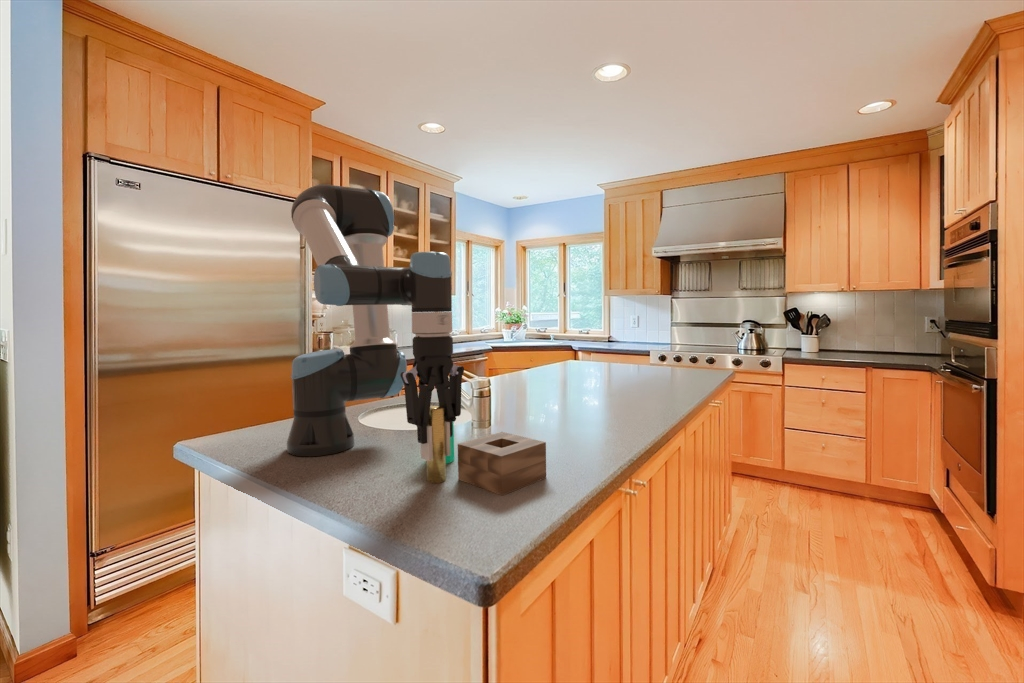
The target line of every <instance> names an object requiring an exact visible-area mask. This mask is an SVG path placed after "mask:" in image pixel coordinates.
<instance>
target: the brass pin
mask: <svg viewBox="0 0 1024 683" xmlns="http://www.w3.org/2000/svg"><path fill="white" fill-rule="evenodd" d="M428 425H429V426H432V445H433V460H432V461H428V460H426V482H427V483H431V484H439V483H443V482H445V481H447V469H446V468H447V466H446V465H447V463H446V461H445V423H444V407H441V406H439V405H437V406H436V405H434V406H430V413H429V422H428Z"/></svg>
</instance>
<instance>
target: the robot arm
mask: <svg viewBox="0 0 1024 683" xmlns="http://www.w3.org/2000/svg"><path fill="white" fill-rule="evenodd" d="M290 212H291V214H290V215H291V217H290V218H291V221H292V223H293V225H294V227H295V229H296V230H297V232H298V233H300V234H301V235H302V236H303V237H304V239H305V241H306V243H307V245H308V248H309V249H310V251H311V252H310V253H311V254H312V257H313V259H314V261H315V264H316V266H317V267H316V268H315V269H314V272H313V273H314V274H313V290H314V296H315V299H316V300H317V302H318V303H319V304H320V305H327V306H328V305H330V306H337V307H339V306H340V307H342V306H352V315H353V317H352V318H353V330H354V339H355V340H353V342H352V343H351V345H350V346H349V354H345V352H344V350H343V349H341V348H331V349H325V350H316V351H312V352H308V353H304V354H300V355H298V356H296V357H295V358H294V359H293V360H292V363H291V375H290V378H291V382H292V385H291V386H292V407H293V408H292V409H293V420H292V424H291V427H290V431H289V435H288V437H287V440H286V452H287V453H288V454H289V453H290V454H289V455H291V454H292V456H295V455H296V456H297V457H320V456H328V455H332V454H337V453H341V452H344V451H347V450H349V449H351V448H353V447H354V446H355V435H354V432H353V429H352V427H351V424H350V422H349V419H348V417H347V414H346V403H347V402H354V401H355V402H357V401H362V400H363V401H364V400H365V401H366V400H371V399H372V400H373V399H384V398H387V397H393V396H394V397H395V396H397V395H398V394H400V393H401V391H402V390H403V388H404V398H405V399H404V400H405V410H406V420H407V423H408V424H411V425H414V426H416V430H417V433H416V434H417V436H416V438H417V442H418V443H419V444H420V458H421V459H422V460H425V461H427V460H428V461H432V460H433V445H432V426H429V425H428V422H429V413H430V407H431V404H432V403H431V402H432V395H433V394H432V393H433V391H434V390H436V394H437V395H436V396H437V401H438V406H441V407H444V423H445V455H446V456H450V455H451V451H450V437H452V434H453V430H452V422H453V423H454V422H455V421H456V420H457V417H459V416H461V414H462V383H463V382H462V381H463V380H462V378H463V375H464V372H465V367H464V366H462V365H458V364H455V363H454V361H453V359H452V355H453V353H454V344H453V343H454V341H453V340H454V339H453V336H452V335H450V334H451V333H452V332H453V309H452V307H453V302H452V301H453V300H452V298H453V297H452V296H453V294H452V290H453V289H452V275H453V271H452V267H451V258H450V255H448V253H445V252H438V251H418V252H413V253H412V254H411V256H410V258H409V262H410V263H409V267H405V266H404V267H399V266H396V267H395V266H385V263H384V262H385V261H384V250H383V247H384V246H385V245H386V244H387V243H388V241H389V239H388V238H389V237H392V235H393V232H394V229H395V211H394V208H393V204H392V202H391V199H390V198H389V196H388V195H387V194H386V193H385V192H382V191H379V190H373V189H370V188H357V187H349V186H341V185H333V184H316V185H313V186H310V187H308V188H307V189H304V190H303V191H301V193H299V194H298V195H297V196H296V198H295V199H294V201H293V203H292V206H291V211H290ZM389 305H390V306H391V305H392V306H394V305H395V306H397V305H398V306H399V305H400V306H411V333H412V334H413V335H415V336H414V337H413V338H412V355H413V357H414V358H413V359H414V361H413V365H412V368H411V369H409V370H408V364H407V359H406V354H405V353H404V352H403V351H401V350H399V349H398V345H397V343H396V342H395V340H393V339H392V338H391V336H390V335H391V334H390V324H389V312H388V306H389ZM407 370H408V371H407ZM417 380H418V383H417ZM418 389H419V390H418ZM296 456H295V457H296Z"/></svg>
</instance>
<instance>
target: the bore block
mask: <svg viewBox="0 0 1024 683" xmlns="http://www.w3.org/2000/svg"><path fill="white" fill-rule="evenodd" d="M457 468H458V469H457V472H458V474H457V476H458V478H457V479H458V480H459V481H462V482H464V483H467V484H470V485H473V486H475V487H477V488H480V489H483V490H486V491H489V492H492V493H494V494H497V495H500V496H504V495H507V494H509V493H512V492H515V491H517V490H519V489H521V488H524V487H526V486H527V487H528V486H529V485H531V484H534V483H536V482H539V481H541V480H544V479H546V478H547V441H542V440H539V439H536V438H535V439H534V438H530V437H525V436H521V435H516V434H514V433H513V434H512V433H507V432H503V431H501V432H500V431H499V432H497V433H493V434H489V435H485V436H482V437H478V438H474V439H470V440H466V441H464V442H460V443H457Z"/></svg>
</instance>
